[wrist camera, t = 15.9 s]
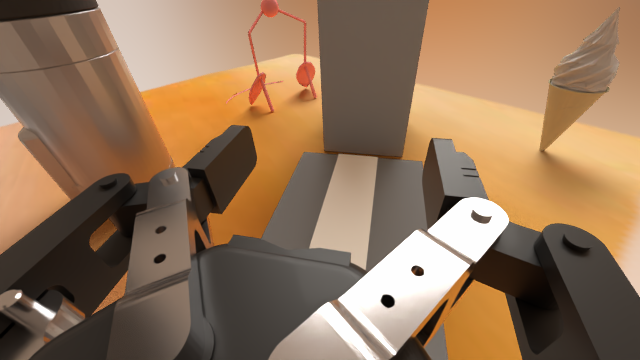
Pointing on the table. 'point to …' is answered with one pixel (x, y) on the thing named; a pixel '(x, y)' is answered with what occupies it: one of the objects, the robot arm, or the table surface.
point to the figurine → (302, 75)
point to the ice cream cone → (581, 80)
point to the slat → (348, 208)
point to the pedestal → (368, 72)
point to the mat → (386, 221)
